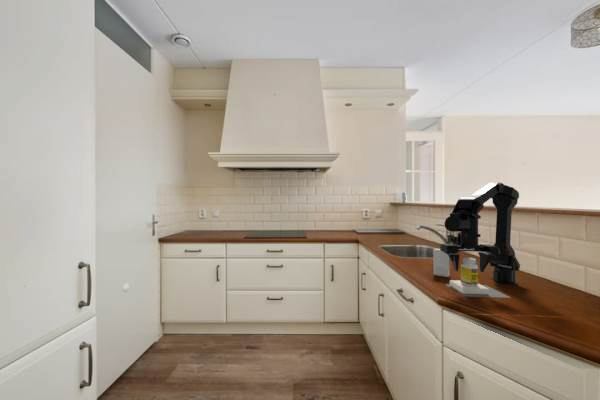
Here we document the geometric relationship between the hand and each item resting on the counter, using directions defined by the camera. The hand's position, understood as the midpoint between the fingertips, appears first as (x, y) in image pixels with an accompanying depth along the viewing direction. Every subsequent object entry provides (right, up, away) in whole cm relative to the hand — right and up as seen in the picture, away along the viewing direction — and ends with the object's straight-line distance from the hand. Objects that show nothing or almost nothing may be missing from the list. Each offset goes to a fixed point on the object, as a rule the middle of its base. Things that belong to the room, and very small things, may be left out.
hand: (468, 271), depth 95 cm
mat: (+2, -8, 0) cm, 8 cm away
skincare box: (+1, -8, +20) cm, 21 cm away
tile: (+4, -6, 0) cm, 7 cm away
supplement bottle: (0, -5, 0) cm, 5 cm away
